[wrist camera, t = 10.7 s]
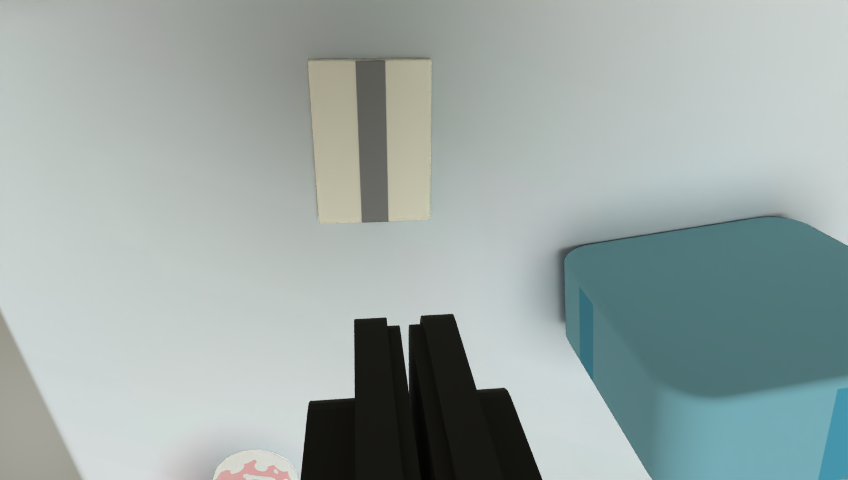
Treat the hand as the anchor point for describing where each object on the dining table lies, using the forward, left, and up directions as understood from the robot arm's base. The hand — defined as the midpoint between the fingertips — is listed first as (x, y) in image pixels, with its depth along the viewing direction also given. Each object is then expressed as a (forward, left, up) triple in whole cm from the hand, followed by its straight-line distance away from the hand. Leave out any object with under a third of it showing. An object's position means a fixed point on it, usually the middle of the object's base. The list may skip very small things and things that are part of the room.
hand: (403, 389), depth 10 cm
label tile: (0, 0, -17) cm, 17 cm away
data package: (+7, +15, -17) cm, 24 cm away
